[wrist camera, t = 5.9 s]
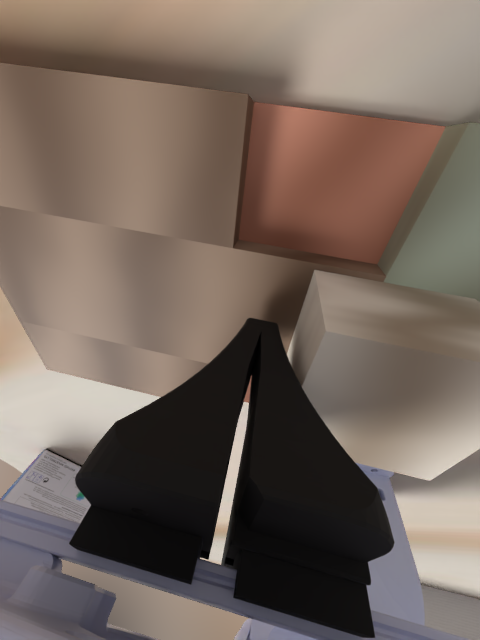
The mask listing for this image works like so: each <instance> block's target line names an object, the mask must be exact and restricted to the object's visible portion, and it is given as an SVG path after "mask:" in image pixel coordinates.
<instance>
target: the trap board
mask: <svg viewBox="0 0 480 640" xmlns="http://www.w3.org/2000/svg"><path fill="white" fill-rule="evenodd" d="M314 270H319V271H324V272H330V273H335V274H341V275H346V276H352V277H357V278H363V279H368V280H374V281H379V282H385V283H390V284H396V285H401V286H407V287H412V288H418V289H424V290H429V291H435V292H440V293H446V294H451V295H457V296H462V297H468V298H473V299H476V300H477V301H479V302H480V123H473V122H468V123H463V124H457V125H452V126H447V127H444V126H437V125H429V124H421V123H413V122H406V121H398V120H390V119H382V118H375V117H367V116H359V115H351V114H344V113H336V112H328V111H320V110H313V109H305V108H297V107H289V106H282V105H274V104H266V103H259V102H254V101H253V100H252V98H251V97H250V96H249V94H244V93H236V92H228V91H220V90H212V89H204V88H196V87H188V86H181V85H173V84H165V83H157V82H149V81H141V80H133V79H125V78H117V77H109V76H102V75H94V74H86V73H78V72H70V71H62V70H54V69H46V68H38V67H31V66H23V65H15V64H7V63H0V287H1V289H2V290H3V292H4V294H5V296H6V298H7V299H8V301H9V303H10V305H11V306H12V308H13V310H14V312H15V314H16V315H17V317H18V319H19V321H20V322H21V324H22V326H23V328H24V330H25V331H26V333H27V335H28V337H29V338H30V340H31V342H32V344H33V346H34V347H35V349H36V351H37V353H38V354H39V356H40V358H41V360H42V362H43V363H44V365H45V367H46V369H48V370H52V371H56V372H60V373H64V374H68V375H73V376H77V377H81V378H85V379H89V380H93V381H97V382H101V383H106V384H110V385H114V386H118V387H122V388H126V389H130V390H134V391H139V392H143V393H147V394H151V395H155V396H159V397H162V396H164V395H166V394H167V393H169V392H170V391H172V390H174V389H175V388H177V387H178V386H180V385H181V384H183V383H184V382H185V381H187V380H188V379H190V378H191V377H192V376H194V375H195V374H196V373H198V372H199V371H200V370H201V369H202V368H204V367H205V366H206V365H207V364H208V363H210V362H211V361H212V360H213V359H214V358H215V357H216V356H217V355H218V354H219V353H220V352H221V351H222V350H223V349H224V348H225V347H226V346H227V345H228V344H229V343H230V342H231V340H232V339H233V338H234V337H235V336H236V335H237V333H238V332H239V331H240V329H241V328H242V327H243V325H244V324H245V322H246V320H247V319H248V318H254V319H259V320H264V321H269V322H274V323H277V324H278V327H279V332H280V336H281V339H282V343H283V346H284V348H285V351H286V354H287V352H288V349H289V346H290V343H291V340H292V337H293V334H294V331H295V328H296V325H297V322H298V319H299V316H300V312H301V309H302V306H303V303H304V300H305V297H306V294H307V291H308V288H309V285H310V282H311V279H312V276H313V273H314ZM251 376H252V375H251ZM250 387H251V379H250V382H249V385H248V389H247V392H246V395H245V399H244V402H248V403H249V398H250Z"/></svg>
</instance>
